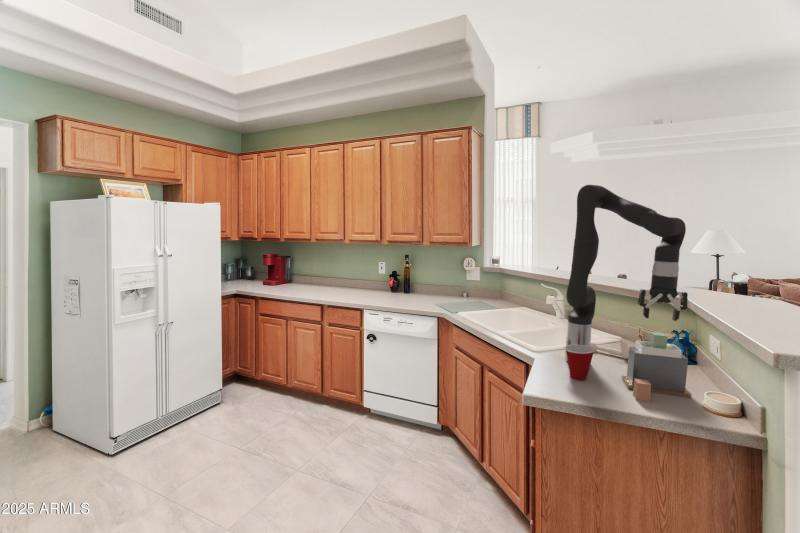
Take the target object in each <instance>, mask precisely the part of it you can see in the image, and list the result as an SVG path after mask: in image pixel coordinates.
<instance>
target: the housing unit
mask: <svg viewBox="0 0 800 533" xmlns="http://www.w3.org/2000/svg"><path fill="white" fill-rule="evenodd" d="M628 349H629V356H628V358H627V370H626V375H621V380H622V382H623V383H624V385H625V386H626V389H628V390H633V388H634V379H642V380H648V381H649V383H650V384H651V393H656V394H662V395H663V394H664V395H669V396H678V397H685V398H692V393H691V391H689V390H688V389H687V388H686V386H687V375H688V364H689V358H688V357H686V356H685V355H684V354H683V350H681V349H680V348H679V347H678V346H677V345H675V344H674V343H667V346H666V349H663V348H654V347H650V341H645V340H635V345H634V346H628Z"/></svg>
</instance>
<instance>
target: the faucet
mask: <svg viewBox="0 0 800 533" xmlns="http://www.w3.org/2000/svg"><path fill="white" fill-rule="evenodd" d="M607 338H608V339H614V340H617V341H618V340H619V347H620V350H619V349H615V348H611V347H609V348H608V347H605V346H604V347H603V346H599V345H597V343H595V342H593V341H590V347H593V348H594V349H595V352H597V350H598V351H600V352H601V351H602V352H604V353H608V354H610V355H613V356H619V357H622V359H624V360H626V359H627V360H628V356H629V346H628V343H627V341H626V340H624V339H622V338H620V337H610V336H609V337H606V339H607ZM595 352H594V353H595Z"/></svg>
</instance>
